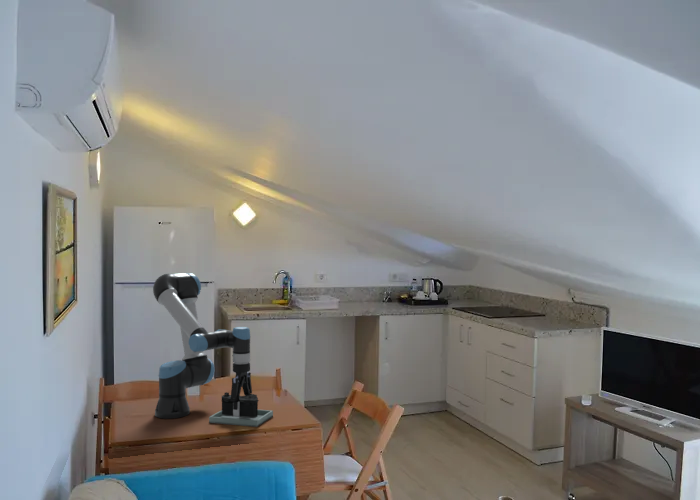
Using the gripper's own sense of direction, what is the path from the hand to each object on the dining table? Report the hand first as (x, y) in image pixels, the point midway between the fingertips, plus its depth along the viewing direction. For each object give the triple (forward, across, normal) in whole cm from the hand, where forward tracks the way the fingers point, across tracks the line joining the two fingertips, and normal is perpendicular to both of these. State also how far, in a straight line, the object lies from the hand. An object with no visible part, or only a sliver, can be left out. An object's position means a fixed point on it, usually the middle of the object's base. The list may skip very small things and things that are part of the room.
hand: (241, 413), depth 259 cm
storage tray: (+2, 0, 0) cm, 2 cm away
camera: (+1, 0, 0) cm, 1 cm away
